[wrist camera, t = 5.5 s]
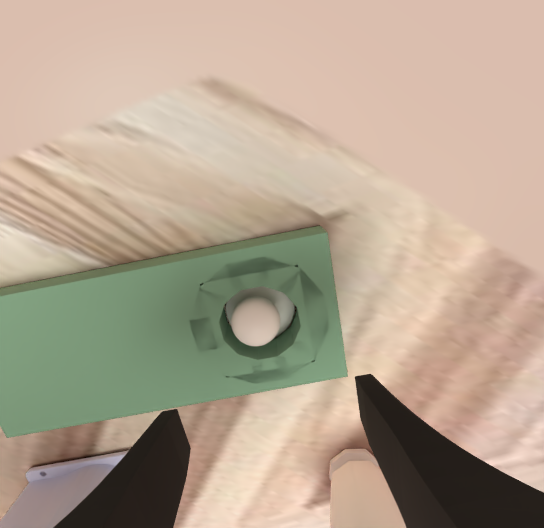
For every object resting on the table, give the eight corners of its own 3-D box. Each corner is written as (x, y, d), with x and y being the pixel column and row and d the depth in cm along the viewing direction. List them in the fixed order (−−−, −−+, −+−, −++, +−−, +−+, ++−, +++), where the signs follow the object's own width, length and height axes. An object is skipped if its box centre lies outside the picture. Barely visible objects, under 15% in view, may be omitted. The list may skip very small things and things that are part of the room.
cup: (334, 424, 25) (366, 539, 17) (439, 458, 26) (513, 579, 18) (298, 485, 26) (313, 614, 19) (398, 514, 28) (450, 646, 20)
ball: (270, 324, 22) (230, 342, 21) (261, 284, 21) (218, 300, 20) (293, 341, 20) (249, 363, 18) (284, 296, 19) (237, 315, 17)
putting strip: (32, 412, 24) (7, 437, 21) (-30, 293, 21) (-66, 309, 18) (339, 355, 23) (347, 376, 20) (320, 225, 20) (327, 232, 18)
